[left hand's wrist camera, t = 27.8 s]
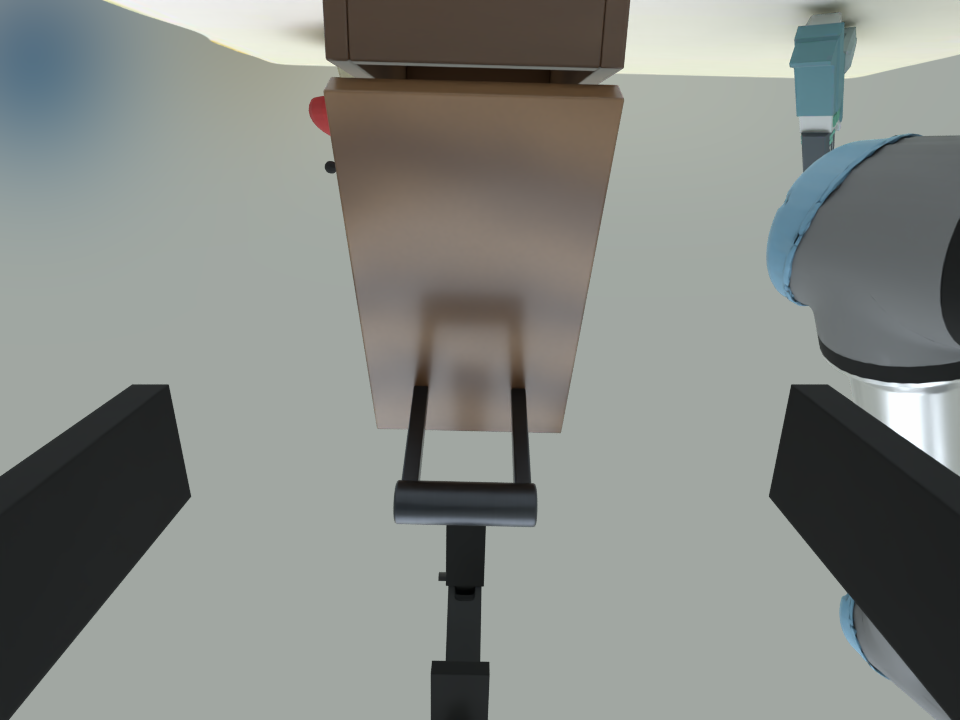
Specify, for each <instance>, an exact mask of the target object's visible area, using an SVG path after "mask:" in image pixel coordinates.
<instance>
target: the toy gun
mask: <svg viewBox="0 0 960 720" xmlns="http://www.w3.org/2000/svg"><path fill="white" fill-rule="evenodd" d="M844 23H845V22H842V14H841V12H837V13H827V14H817V15H813V16H811V17H810V19H809V21H808V23H807V25H806V26H798V29H797V33H796V36H795V39H794V41H795V47H794V51H793V54H792V57H791V60H790V63H789V64H790V67H792V68H794V75H795V93H796V111H797V116H799V122H800V133H801V140H802V141H801V144H802V157H803V172H804V171H805V170H806V169H807V168H808V167H809V166H811V165H812V164H813V163H814V162H815V161H816V160H818V159H819V158H821V157H822V156H823V155H825V154H826V153H828V152H830V151H832V150H834V135H835V131H839V130H840V128H841V121H842V115H843V92H844V74H845V73H846V72H847V70H848V69H849V68H850V66H851V63H852V59H853V56H854V51H855V47H856V41H857V38H856V27H849V28H844Z"/></svg>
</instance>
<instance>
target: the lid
mask: <svg viewBox="0 0 960 720" xmlns="http://www.w3.org/2000/svg"><path fill="white" fill-rule="evenodd" d="M324 98H325V104H326V110H327V117H328V123H329V129H330V135H331V142H332V148H333V154H334V160H335V167H336V173H337V179H338V186H339V192H340V198H341V204H342V211H343V217H344V223H345V230H346V236H347V242H348V248H349V255H350V261H351V267H352V273H353V280H354V286H355V292H356V298H357V305H358V311H359V317H360V324H361V330H362V336H363V342H364V349H365V355H366V361H367V367H368V374H369V380H370V386H371V393H372V399H373V405H374V411H375V418H376V424H377V428H378V429H408V435H407V443H406V450H405V458H404V466H403V474H402V480H399V481H397V483H396V487H395V493H394V521H395V523H396V524H425V525H468V526H511V527H534V526H535V525H536V521H537V489H536V485H535V484H534V483H531V472H530V455H529V438H528V432H533V433H561V430H562V424H563V419H564V414H565V409H566V403H567V398H568V393H569V388H570V382H571V377H572V372H573V366H574V361H575V356H576V351H577V345H578V340H579V335H580V329H581V324H582V319H583V314H584V309H585V303H586V298H587V293H588V287H589V282H590V277H591V272H592V266H593V261H594V256H595V251H596V245H597V240H598V235H599V230H600V224H601V219H602V214H603V208H604V203H605V198H606V192H607V187H608V182H609V177H610V172H611V166H612V161H613V156H614V150H615V145H616V140H617V135H618V129H619V124H620V119H621V114H622V108H623V103H624V98H623V95H622V93H621V91H620V88H619V86H618V85H594V84H558V83H522V82H487V81H451V80H415V79H379V78H343V77H331V78H330V80H329V82H328V83H327V85H326V87H325V89H324ZM425 430H451V431H492V432H512V456H513V483H498V482H455V481H420V475H421V465H422V455H423V446H424V436H425Z"/></svg>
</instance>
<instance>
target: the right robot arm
mask: <svg viewBox="0 0 960 720" xmlns="http://www.w3.org/2000/svg"><path fill="white" fill-rule="evenodd" d="M767 268H768V273H769V276H770V279H771V281H772V283H773V285H774V287H775V288H776V289H777V291H778V292H779V293H780V294H782V295H783V296H785V297H787V298H788V299H789V300H790V301H792V302H793V303H795V304H797V305H799V306H810V307H811V309H812V310H813V313H814V317H815V322H816V328H817V334H818V339H819V345H820V350H821V352H822V355H823V357H824V358H825V360H826V361H827V362H828V364H829V365H830V366H831V367H833V368H834V369H836V370H837V371H838V372H840V373H842V374H844V375H846V376H848V377H849V381H850V388H851V394H852V401H853V402H854V403H855V404H856V405H858V406H859V407H861V408H862V409H864V410H865V411H866V412H868V413H869V414H871V415H872V416H874V417H875V418H877V419H878V420H879V421H881V422H882V423H884V424H885V425H887V426H888V427H889V428H891V429H892V430H894V431H895V432H897V433H898V434H900V435H901V436H902V437H904V438H905V439H907V440H908V441H910V442H911V443H912V444H914V445H915V446H917V447H918V448H920V449H921V450H923V451H924V452H925V453H927V454H928V455H930V456H931V457H933V458H934V459H935V460H937V461H938V462H940V463H941V464H943V465H944V466H946V467H947V468H948V469H950V470H951V471H953V472H954V473H956V474H957V475H958V476H960V136H922V135H918V134H903V135H896V136H893V137H891V138H886V139H874V140H863V141H856V142H852V143H848V144H845V145H843V146H840V147H838V148H836V149H834V150H832V151H830V152H828V153H826V154H825V155H823V156H822V157H821V158H819V159H818V160H816V161H815V162H814V163H813V164H812V165H811V166H809V167H808V168H807V169H806V170H805V171H804V172H803V174H802V175H801V176H800V177H799V178H798V179H797V180H796V181H795V183H794V184H793V185H792V187H791V188H790V190H789V191H788V193H787V197H786V200H785V202H784V204H783V205H782V206H781V207H780V208H779V209H778V210H777V213H776V215H775V217H774V220H773V223H772V226H771V229H770V233H769V237H768V243H767ZM485 533H486V526H468V525H447V527H446V572H439V581H446V586H449V587H448V615H447V642H446V661H432V668H431V720H488V700H489V662H480V638H481V586H484V563H485ZM840 623H841V627H842V630H843V633H844V635H845V637H846V639H847V640H848V642H849V643H850V644H851V646H852V647H853V648H854V649H855V650H856V651H857V652H858V653H859V654H860V655H861V656H862V657H863V659H864V660H865V661H867V662H868V664H869V665H870V667H871V668H873V669H874V670H875V671H876V672H878V673H879V674H880V675H882V676H884V677H885V678H887V679H889V680H891V681H892V682H893V683H894V684H895V685H897V686H898V687H899V688H900V689H901V690H902V691H903V692H905V693H906V694H907V695H908V696H909V697H910V698H911V699H913V700H914V701H915V702H916V703H917V704H918V705H920V706H921V707H922V708H923V709H924V710H925V711H926V712H928V713H929V714H930V715H931V716H932V717H933V718H934V719H936V720H951V719H950V718H949V717H948V715H947V714H946V713H945V712H944V710H943V709H942V708H941V707H940V706H939V704H938V703H937V702H936V701H935V699H934V698H933V697H932V696H931V694H930V693H929V692H928V691H927V690H926V688H925V687H924V686H923V685H922V683H921V682H920V681H919V680H918V679H917V677H916V676H915V675H914V674H913V672H912V671H911V670H910V669H909V668H908V666H907V665H906V664H905V663H904V661H903V660H902V659H901V658H900V657H899V655H898V654H897V653H896V652H895V650H894V649H893V648H892V647H891V645H890V644H889V643H888V642H887V641H886V639H885V638H884V637H883V636H882V634H881V633H880V632H879V631H878V630H877V628H876V627H875V626H874V625H873V623H872V622H871V621H870V620H869V619H868V617H867V616H866V615H865V614H864V612H863V611H862V610H861V609H860V608H859V606H858V605H857V604H856V603H855V601H854V600H853V599H852V598H851V597H850V595H849V594H848V593H847V595H845V596H843V597H842V599H841V603H840Z"/></svg>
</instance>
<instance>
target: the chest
mask: <svg viewBox="0 0 960 720" xmlns="http://www.w3.org/2000/svg"><path fill="white" fill-rule="evenodd" d="M629 8H630V0H323V15H324V34H325V52H326V59H327V60H328V61H329V62H331V63H333V64H334V65H336V66H337V67H339V68H340V69H342V70H344V71H345V72H347V73H348V74H350V75H352V76H353V77H355V78H379V79H415V80H451V81H487V82H522V83H558V84H594V85H597V84H599V83H601V82H602V81H604V80H605V79H607V78H609V77H610V76H612V75H613V74H615V73H617V72H618V71H620V70H621V69H623V68H624V60H625V50H626V39H627V29H628V18H629Z"/></svg>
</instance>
